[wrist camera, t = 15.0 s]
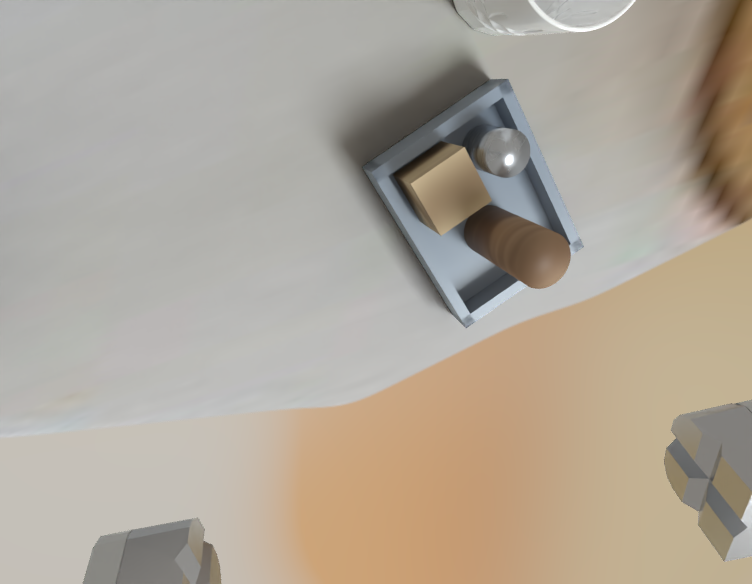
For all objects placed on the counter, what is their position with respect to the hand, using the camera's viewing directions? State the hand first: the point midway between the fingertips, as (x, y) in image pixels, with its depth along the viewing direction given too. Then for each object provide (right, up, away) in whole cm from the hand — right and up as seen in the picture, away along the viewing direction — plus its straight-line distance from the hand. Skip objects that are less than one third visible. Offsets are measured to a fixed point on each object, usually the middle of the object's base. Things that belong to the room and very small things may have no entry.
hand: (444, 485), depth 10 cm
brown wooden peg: (+7, +8, +32) cm, 33 cm away
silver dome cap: (+6, +13, +29) cm, 33 cm away
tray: (+6, +10, +32) cm, 34 cm away
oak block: (+3, +11, +29) cm, 31 cm away
